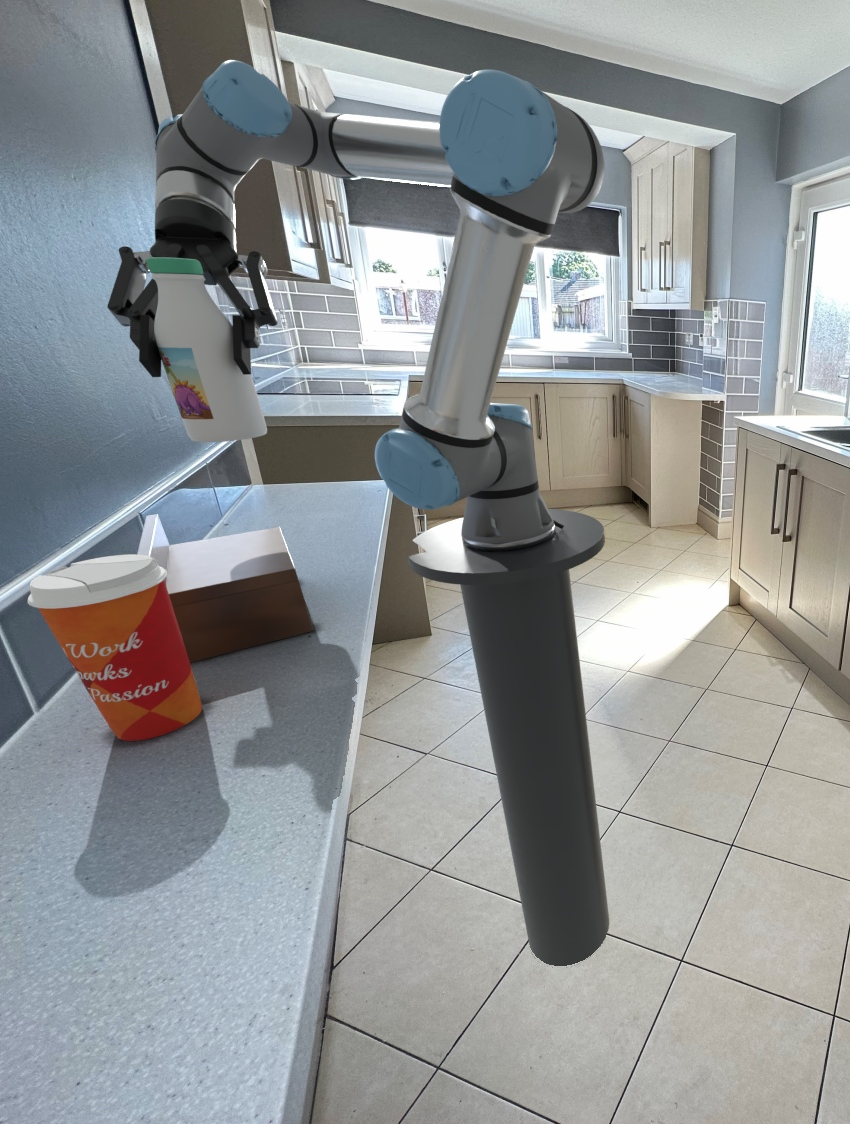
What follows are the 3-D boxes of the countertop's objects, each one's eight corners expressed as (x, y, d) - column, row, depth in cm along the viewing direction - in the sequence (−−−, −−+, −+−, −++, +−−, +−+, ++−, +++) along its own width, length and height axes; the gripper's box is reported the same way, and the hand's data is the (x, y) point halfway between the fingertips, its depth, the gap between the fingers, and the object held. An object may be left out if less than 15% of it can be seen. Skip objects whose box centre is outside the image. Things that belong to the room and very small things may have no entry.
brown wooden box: (296, 581, 84) (271, 497, 79) (314, 631, 71) (284, 534, 67) (181, 605, 77) (146, 515, 72) (178, 665, 64) (135, 560, 60)
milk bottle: (264, 429, 81) (213, 261, 73) (273, 438, 76) (220, 258, 68) (187, 437, 76) (124, 257, 68) (192, 446, 71) (125, 254, 63)
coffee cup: (69, 747, 52) (-14, 589, 46) (159, 692, 60) (98, 550, 54) (162, 752, 52) (91, 593, 46) (241, 695, 59) (189, 553, 54)
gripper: (303, 251, 84) (314, 385, 77) (107, 244, 76) (98, 393, 69) (284, 202, 77) (293, 343, 70) (67, 188, 69) (53, 346, 62)
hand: (197, 367), depth 69 cm, fingers closed on milk bottle, 8 cm apart
